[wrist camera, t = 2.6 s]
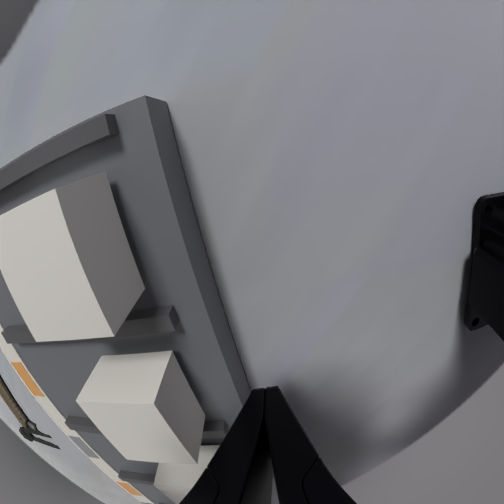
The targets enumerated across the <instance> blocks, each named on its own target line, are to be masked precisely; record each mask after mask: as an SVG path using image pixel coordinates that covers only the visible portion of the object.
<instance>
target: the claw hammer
mask: <svg viewBox="0 0 504 504" xmlns="http://www.w3.org/2000/svg"><path fill="white" fill-rule="evenodd" d="M0 395H1V397H2V398H3V400H4V401H5V403H6V404H7V405H8V407H9V408H10V410H11V411H12V412H13V414H14V415H15V416H16V418H17V419H18V420H19V422H20V423H21V424H22V426H23V427H20V429H19V431H20V433H21V434H22V435H23V437H24V438H26V439H28V440H29V441H31V442H32V441H33V440H35V441H37V442H40V443H43V444H45V445H48V446H51V447H54V448H57V449H60V448H59V447H58V446H57V445H54V444H52V443H50V442H47V441H44V440H42V439H40V438H36V437H34V436H33V435H32V434H31V433H33V434H37V435H41V436H45V437H48V438H51V436H49V435H46V434H44V433H41V432H40V431H39V430H38V429H37V427H36V424H35V423H33V422H32V421H30V420H29V419H28V418H27V416H26V415H25V414H24V413H23V411H22V409H21V408H20V406H19V405H18V404H17V402H16V401H15V399H14V397H13V396H12V394H11V393H10V391H9V389H8V388H7V386H6V384H5V383H4V381H3V379H2V378H1V376H0ZM26 427H27V428H26Z"/></svg>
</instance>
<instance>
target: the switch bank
mask: <svg viewBox="0 0 504 504" xmlns="http://www.w3.org/2000/svg"><path fill="white" fill-rule="evenodd" d="M105 171H106V174H107V177H108V181H109V184H110V188H111V191H112V194H113V198H114V201H115V204H116V207H117V211H118V214H119V217H120V220H121V223H122V226H123V229H124V232H125V235H126V238H127V241H128V244H129V246H130V249H131V252H132V255H133V258H134V260H135V263H136V266H137V268H138V271H139V274H140V276H141V279H142V281H143V284H144V286H145V290H144V291H143V293H142V294H141V296H140V297H139V299H138V300H137V302H136V303H135V305H134V306H133V308H132V310H131V311H130V313H129V314H128V316H127V317H126V319H125V320H124V322H123V324H122V325H121V327H120V328H119V330H118V332H117V333H116V335H115V336H114V337H103V338H91V339H78V340H62V341H44V342H36V341H35V339H34V337H33V335H32V334H31V332H30V330H29V328H28V326H27V325H26V323H25V321H24V319H23V317H22V315H21V313H20V311H19V309H18V307H17V305H16V303H15V301H14V299H13V297H12V295H11V293H10V291H9V289H8V286H7V284H6V282H5V280H4V277H3V275H2V273H1V270H0V348H1V350H2V351H3V353H4V355H5V356H6V358H7V359H8V361H9V362H10V364H11V365H12V367H13V368H14V370H15V371H16V373H17V374H18V376H19V377H20V379H21V380H22V381H23V383H24V384H25V386H26V387H27V388H28V390H29V391H30V392H31V394H32V395H33V396H34V398H35V399H36V400H37V401H38V403H39V404H40V405H41V407H42V408H43V409H44V410H45V411H46V413H47V414H48V415H49V416H50V417H51V419H52V420H53V421H54V422H55V423H56V424H57V426H58V427H59V428H60V429H61V430H62V431H63V432H64V433H65V434H66V436H67V437H68V438H69V439H70V440H71V441H72V442H73V443H74V444H75V445H76V446H77V447H78V448H79V449H80V450H81V451H82V452H83V453H84V454H85V455H86V456H87V457H88V458H89V459H90V460H91V461H92V462H93V463H94V464H95V465H97V466H98V467H99V468H100V469H101V470H102V471H103V472H104V473H105V474H106V475H108V476H109V477H110V478H111V479H112V480H113V481H115V482H116V483H117V484H118V485H119V486H121V487H122V488H123V489H124V490H126V491H127V492H128V493H129V494H131V495H132V496H133V497H134V498H136V499H137V500H138V501H140V502H141V503H145V504H175V503H174V502H173V501H172V500H170V499H169V498H168V497H167V496H166V495H164V494H163V493H162V492H161V491H160V490H159V489H157V488H156V487H155V486H154V485H153V484H154V480H155V476H156V472H157V468H158V464H159V463H158V462H145V461H135V460H127V459H126V458H125V457H124V456H123V455H122V454H121V453H120V452H119V451H118V450H117V449H116V448H115V447H114V446H113V445H112V444H111V443H110V441H109V440H108V439H107V438H106V437H105V436H104V435H103V434H102V432H101V431H100V430H99V429H98V428H97V427H96V425H95V424H94V423H93V422H92V421H91V419H90V418H89V417H88V416H87V415H86V413H85V412H84V411H83V410H82V408H81V407H80V406H79V404H78V403H77V402H76V399H77V397H78V396H79V394H80V392H81V390H82V388H83V387H84V385H85V383H86V381H87V380H88V378H89V376H90V375H91V373H92V371H93V369H94V368H95V366H96V364H97V363H98V361H99V359H100V358H101V356H106V355H123V354H138V353H150V352H161V351H171V350H172V351H173V353H174V355H175V357H176V360H177V362H178V364H179V366H180V368H181V370H182V372H183V374H184V376H185V378H186V380H187V382H188V384H189V386H190V388H191V390H192V391H193V393H194V395H195V397H196V399H197V401H198V403H199V405H200V406H201V408H202V410H203V412H204V414H205V421H204V427H203V433H202V439H201V445H200V446H205V445H220V444H221V443H222V441H223V439H224V438H225V436H226V434H227V433H228V431H229V429H230V428H231V426H232V424H233V423H234V421H235V419H236V418H237V416H238V414H239V412H240V411H241V409H242V407H243V405H244V404H245V402H246V400H247V398H248V397H249V395H250V393H251V390H250V387H249V384H248V381H247V378H246V375H245V373H244V370H243V367H242V364H241V361H240V358H239V355H238V352H237V349H236V346H235V343H234V340H233V337H232V334H231V331H230V328H229V325H228V322H227V319H226V315H225V312H224V309H223V306H222V303H221V300H220V296H219V293H218V290H217V287H216V284H215V280H214V277H213V274H212V271H211V267H210V264H209V261H208V257H207V254H206V250H205V247H204V244H203V240H202V237H201V233H200V230H199V226H198V223H197V219H196V216H195V212H194V208H193V205H192V201H191V198H190V194H189V190H188V187H187V183H186V179H185V175H184V171H183V168H182V164H181V160H180V156H179V152H178V148H177V144H176V140H175V136H174V132H173V128H172V124H171V120H170V116H169V112H168V107H167V103H166V102H165V101H162V100H158V99H155V98H152V97H148V96H142V97H140V98H137V99H134V100H132V101H129V102H127V103H124V104H122V105H119V106H117V107H114V108H112V109H110V110H107V111H105V112H103V113H101V114H98V115H96V116H94V117H92V118H90V119H87V120H85V121H83V122H81V123H79V124H77V125H75V126H73V127H71V128H69V129H67V130H65V131H63V132H61V133H59V134H57V135H56V136H54V137H52V138H50V139H48V140H46V141H45V142H43V143H41V144H39V145H38V146H36V147H34V148H32V149H31V150H29V151H27V152H26V153H24V154H23V155H21V156H19V157H18V158H16V159H15V160H13V161H11V162H10V163H8V164H7V165H5V166H4V167H2V168H1V169H0V215H2V214H4V213H6V212H8V211H10V210H12V209H13V208H15V207H17V206H19V205H21V204H23V203H25V202H27V201H29V200H31V199H34V198H36V197H38V196H40V195H42V194H44V193H46V192H48V191H51V190H53V189H55V188H58V187H61V186H63V185H66V184H69V183H72V182H75V181H77V180H80V179H83V178H86V177H89V176H92V175H95V174H98V173H102V172H105ZM271 504H279V500H278V494H277V489H276V483H275V477H274V472H273V481H272V496H271Z"/></svg>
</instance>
